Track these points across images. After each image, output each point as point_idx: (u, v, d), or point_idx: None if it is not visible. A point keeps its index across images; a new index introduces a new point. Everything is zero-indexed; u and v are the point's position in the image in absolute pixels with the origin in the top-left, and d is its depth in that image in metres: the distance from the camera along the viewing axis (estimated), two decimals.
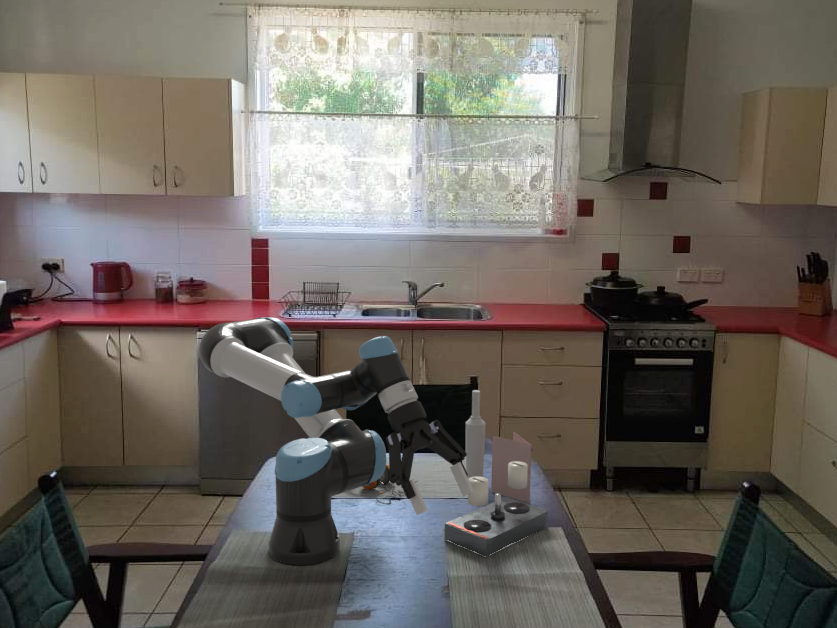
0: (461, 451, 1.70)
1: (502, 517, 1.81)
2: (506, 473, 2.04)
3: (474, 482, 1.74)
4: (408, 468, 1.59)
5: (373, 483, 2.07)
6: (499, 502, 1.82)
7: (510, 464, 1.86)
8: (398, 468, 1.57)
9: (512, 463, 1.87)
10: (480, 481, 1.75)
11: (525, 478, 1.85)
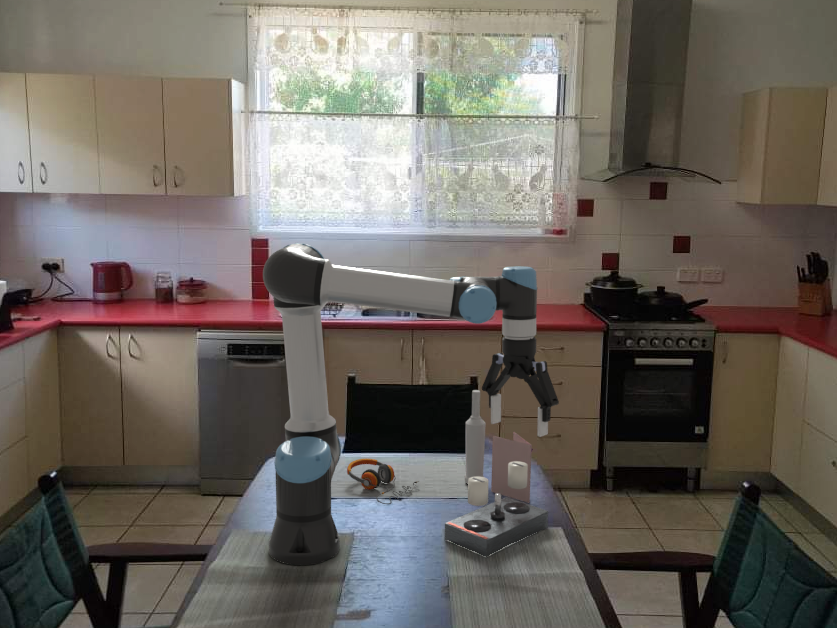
0: None
1: (502, 517, 1.81)
2: (506, 473, 2.04)
3: (474, 482, 1.74)
4: None
5: (374, 483, 2.07)
6: (499, 502, 1.82)
7: (510, 464, 1.86)
8: None
9: (512, 463, 1.87)
10: (480, 481, 1.75)
11: (525, 478, 1.85)
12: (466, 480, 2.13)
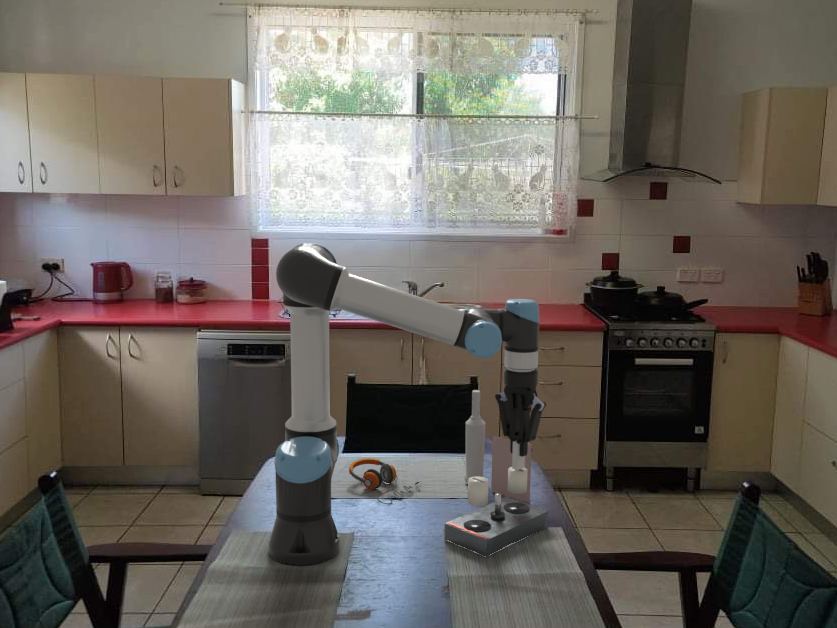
0: None
1: (502, 517, 1.81)
2: (506, 473, 2.04)
3: (474, 482, 1.74)
4: None
5: (375, 483, 2.07)
6: (499, 502, 1.82)
7: (510, 469, 1.86)
8: None
9: None
10: (480, 481, 1.75)
11: (525, 483, 1.85)
12: (466, 480, 2.13)
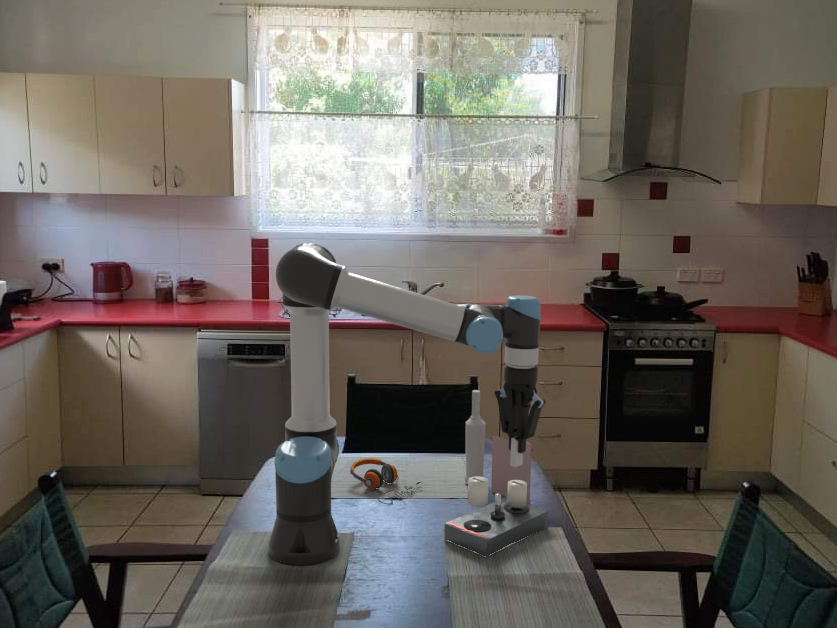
0: None
1: (502, 517, 1.81)
2: (506, 473, 2.05)
3: (474, 482, 1.74)
4: None
5: (376, 483, 2.07)
6: (499, 502, 1.82)
7: (509, 483, 1.87)
8: None
9: (511, 482, 1.87)
10: (480, 481, 1.75)
11: (524, 497, 1.86)
12: (466, 480, 2.13)
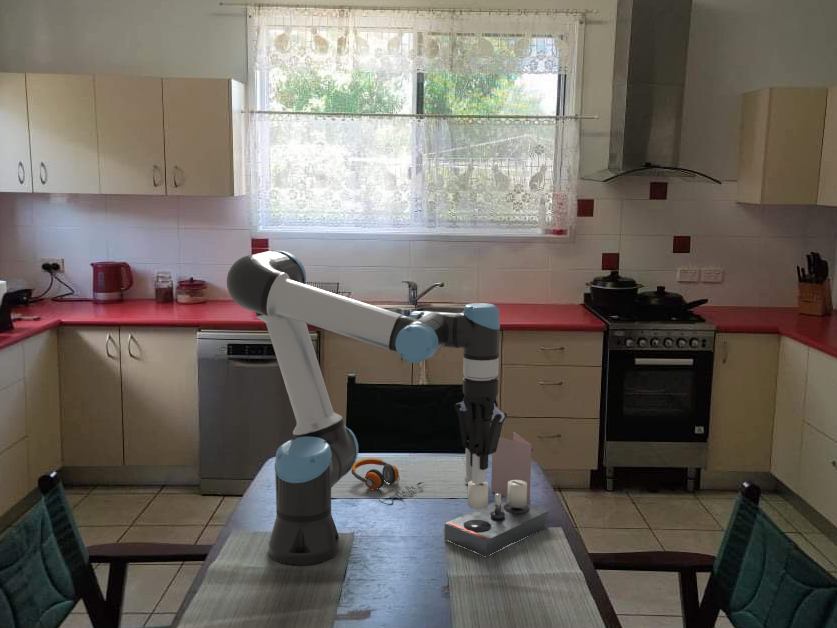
0: None
1: (502, 517, 1.81)
2: (506, 473, 2.04)
3: (474, 486, 1.75)
4: None
5: (377, 483, 2.07)
6: (499, 502, 1.82)
7: (509, 483, 1.87)
8: None
9: (511, 482, 1.87)
10: (480, 484, 1.75)
11: (524, 497, 1.86)
12: (466, 480, 2.13)
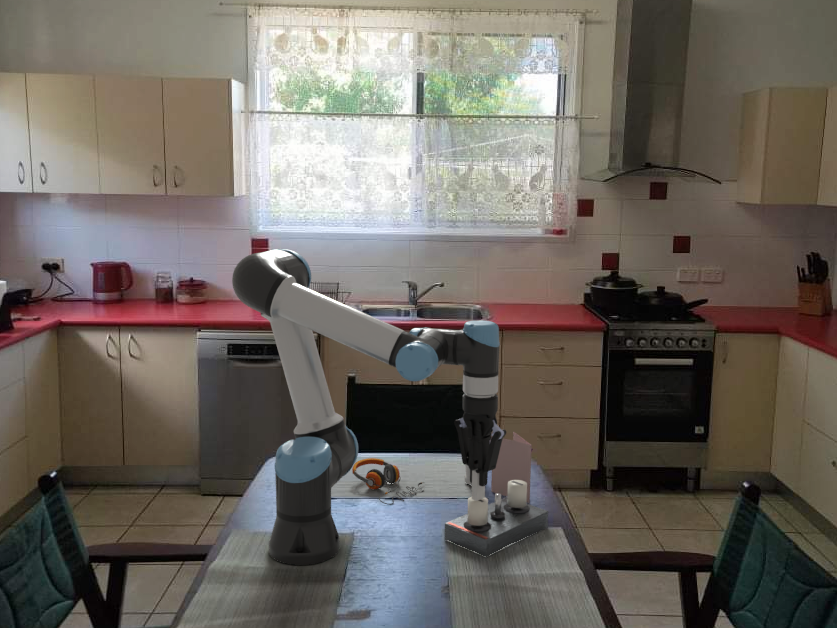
0: None
1: (502, 517, 1.81)
2: (506, 473, 2.04)
3: (474, 502, 1.75)
4: None
5: (378, 483, 2.07)
6: (499, 502, 1.82)
7: (509, 483, 1.87)
8: None
9: (511, 482, 1.87)
10: (479, 500, 1.76)
11: (524, 497, 1.86)
12: (466, 480, 2.13)
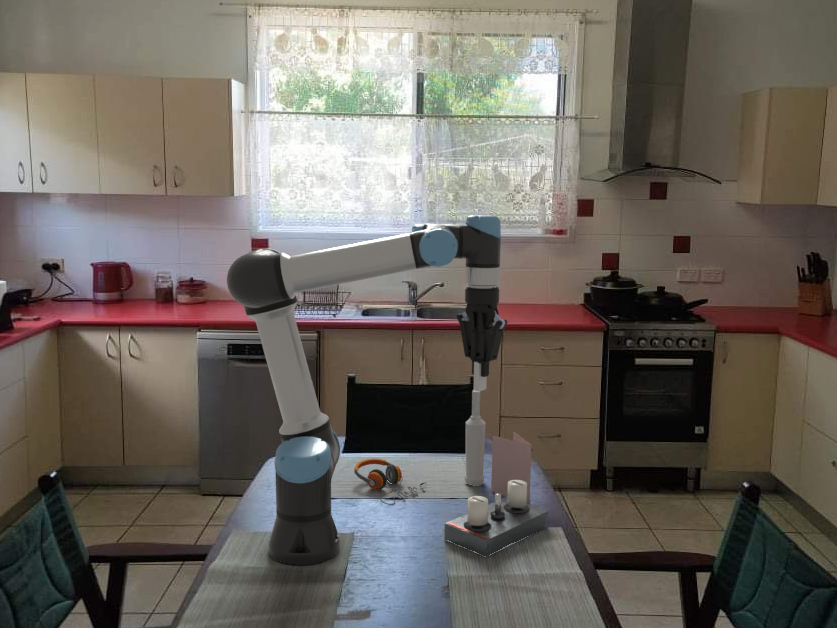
0: None
1: (502, 517, 1.81)
2: (506, 473, 2.04)
3: (474, 502, 1.75)
4: None
5: (379, 483, 2.07)
6: (499, 502, 1.82)
7: (509, 483, 1.87)
8: None
9: (511, 482, 1.87)
10: (479, 501, 1.76)
11: (524, 497, 1.86)
12: (466, 480, 2.13)
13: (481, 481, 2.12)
